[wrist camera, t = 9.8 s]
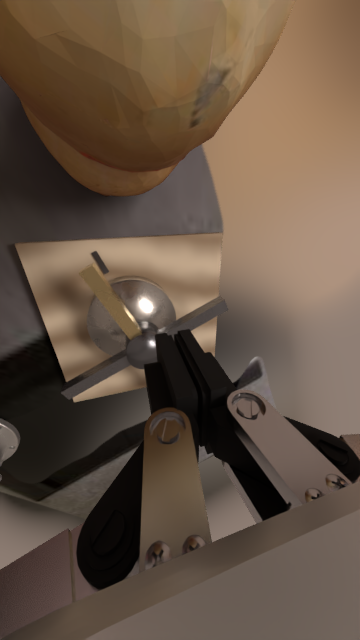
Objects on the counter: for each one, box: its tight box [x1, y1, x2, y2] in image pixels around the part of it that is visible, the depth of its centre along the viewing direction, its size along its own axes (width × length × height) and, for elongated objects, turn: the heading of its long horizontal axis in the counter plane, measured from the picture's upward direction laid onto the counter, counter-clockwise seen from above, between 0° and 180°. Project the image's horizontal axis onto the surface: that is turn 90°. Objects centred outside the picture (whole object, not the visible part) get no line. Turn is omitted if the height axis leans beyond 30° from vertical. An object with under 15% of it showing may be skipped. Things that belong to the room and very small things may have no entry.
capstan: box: [61, 263, 228, 399], centre depth 29 cm, size 24×24×7 cm
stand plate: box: [15, 232, 223, 402], centre depth 33 cm, size 26×26×2 cm
